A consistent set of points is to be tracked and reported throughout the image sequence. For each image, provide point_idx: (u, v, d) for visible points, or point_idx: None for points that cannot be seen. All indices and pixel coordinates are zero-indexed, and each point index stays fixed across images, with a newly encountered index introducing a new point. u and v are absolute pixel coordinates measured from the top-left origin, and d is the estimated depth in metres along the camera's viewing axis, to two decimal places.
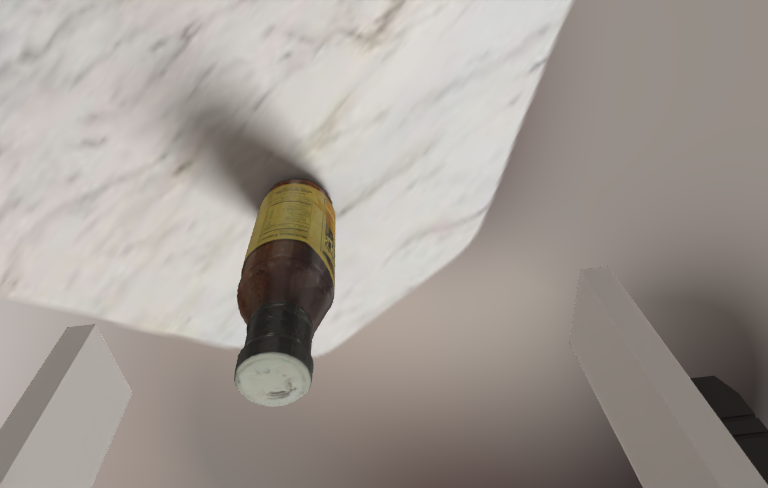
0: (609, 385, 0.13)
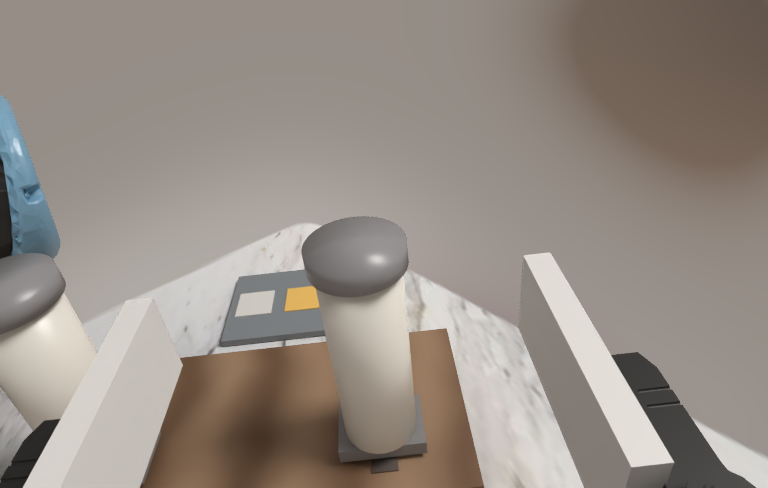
0: (546, 363, 0.13)
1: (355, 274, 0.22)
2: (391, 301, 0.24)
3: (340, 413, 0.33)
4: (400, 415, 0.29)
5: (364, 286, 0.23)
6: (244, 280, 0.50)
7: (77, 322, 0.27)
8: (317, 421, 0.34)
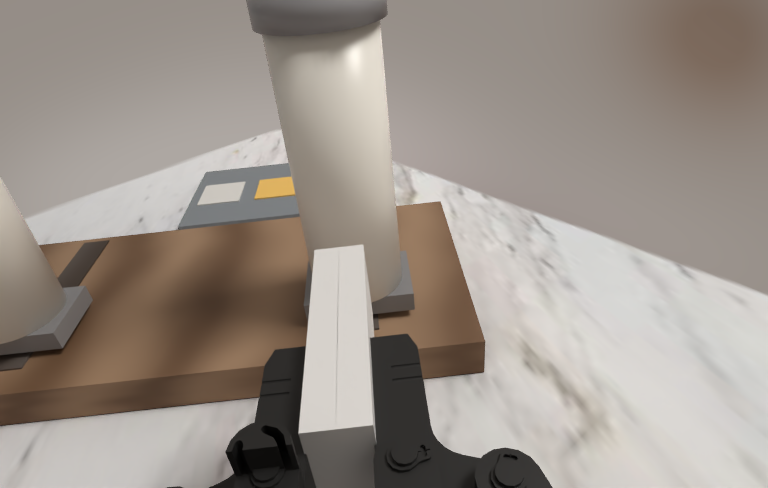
0: None
1: None
2: (364, 61, 0.18)
3: (309, 270, 0.27)
4: (380, 250, 0.23)
5: (325, 16, 0.17)
6: (212, 174, 0.44)
7: None
8: (282, 287, 0.28)
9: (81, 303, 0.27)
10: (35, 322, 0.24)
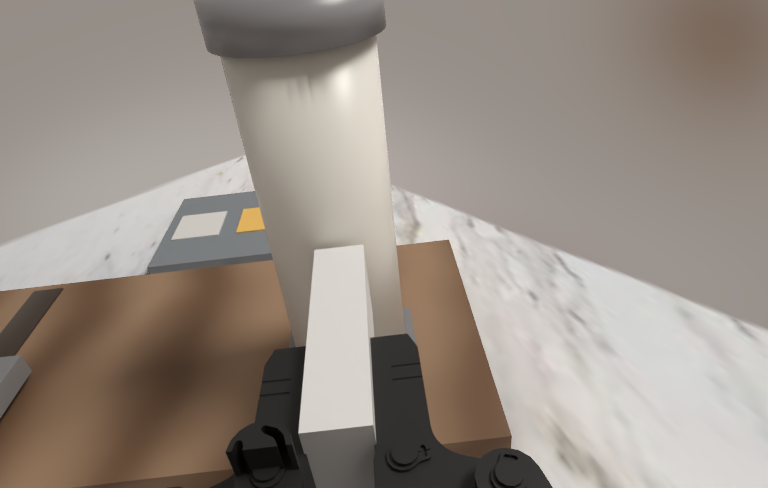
0: None
1: (280, 0, 0.12)
2: (355, 89, 0.14)
3: (292, 334, 0.22)
4: (378, 321, 0.18)
5: (300, 31, 0.12)
6: (190, 202, 0.39)
7: None
8: (260, 353, 0.23)
9: (15, 378, 0.22)
10: None
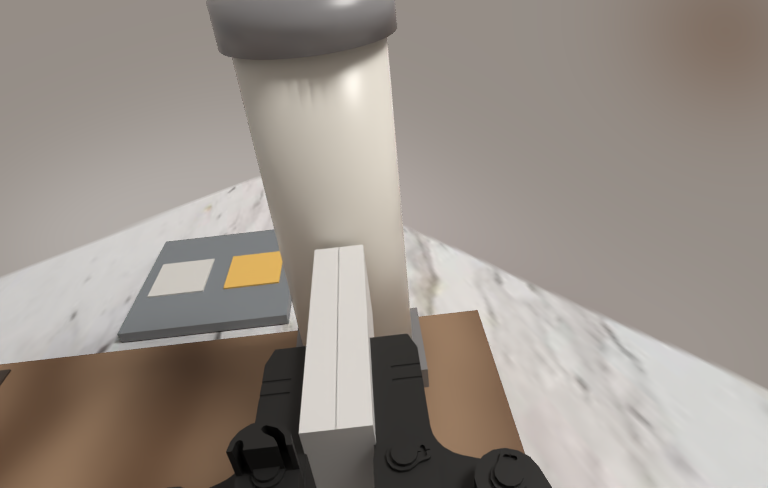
0: None
1: (293, 2, 0.12)
2: (367, 91, 0.14)
3: (300, 334, 0.22)
4: (386, 321, 0.18)
5: (313, 33, 0.12)
6: (173, 246, 0.34)
7: None
8: None
9: None
10: None
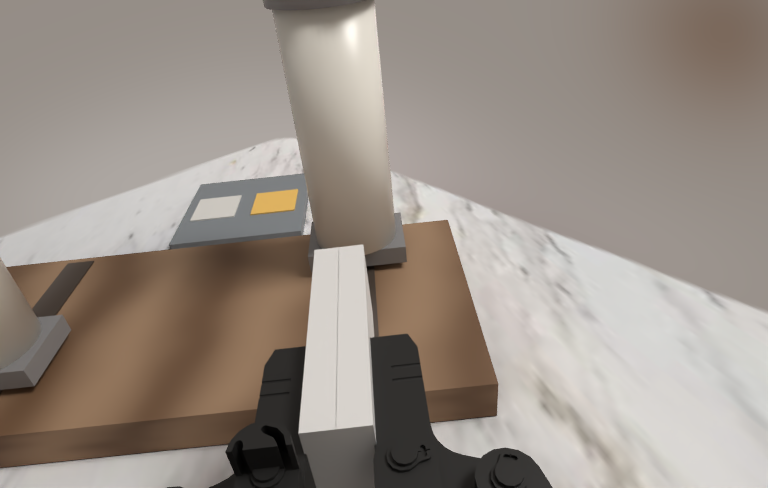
0: None
1: None
2: (360, 33, 0.21)
3: (313, 229, 0.30)
4: (375, 205, 0.26)
5: None
6: (207, 187, 0.42)
7: None
8: (276, 316, 0.26)
9: (58, 334, 0.25)
10: (4, 358, 0.22)
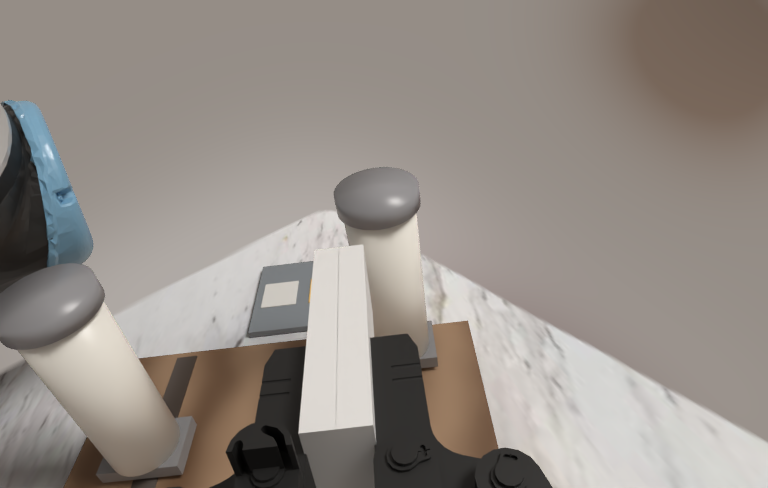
0: None
1: (377, 211, 0.28)
2: (407, 235, 0.30)
3: None
4: (415, 333, 0.35)
5: (385, 221, 0.29)
6: (268, 270, 0.51)
7: (116, 328, 0.28)
8: None
9: (191, 432, 0.35)
10: (163, 457, 0.32)
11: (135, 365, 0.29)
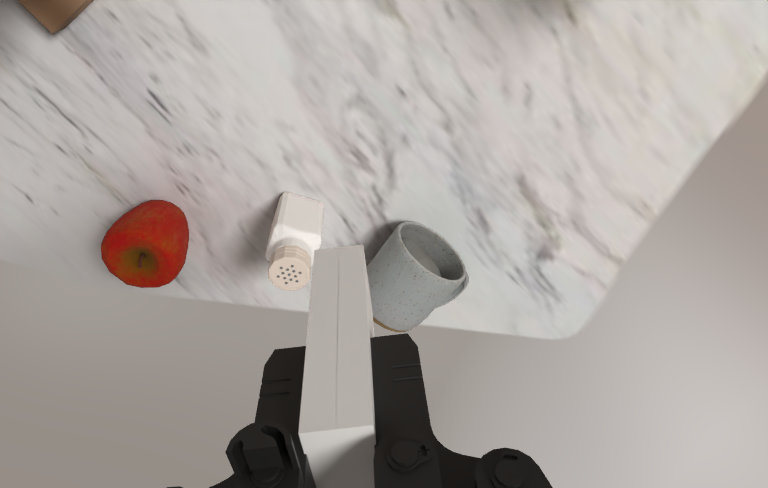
0: None
1: None
2: None
3: None
4: None
5: None
6: None
7: None
8: None
9: None
10: None
11: None
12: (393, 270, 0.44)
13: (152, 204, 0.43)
